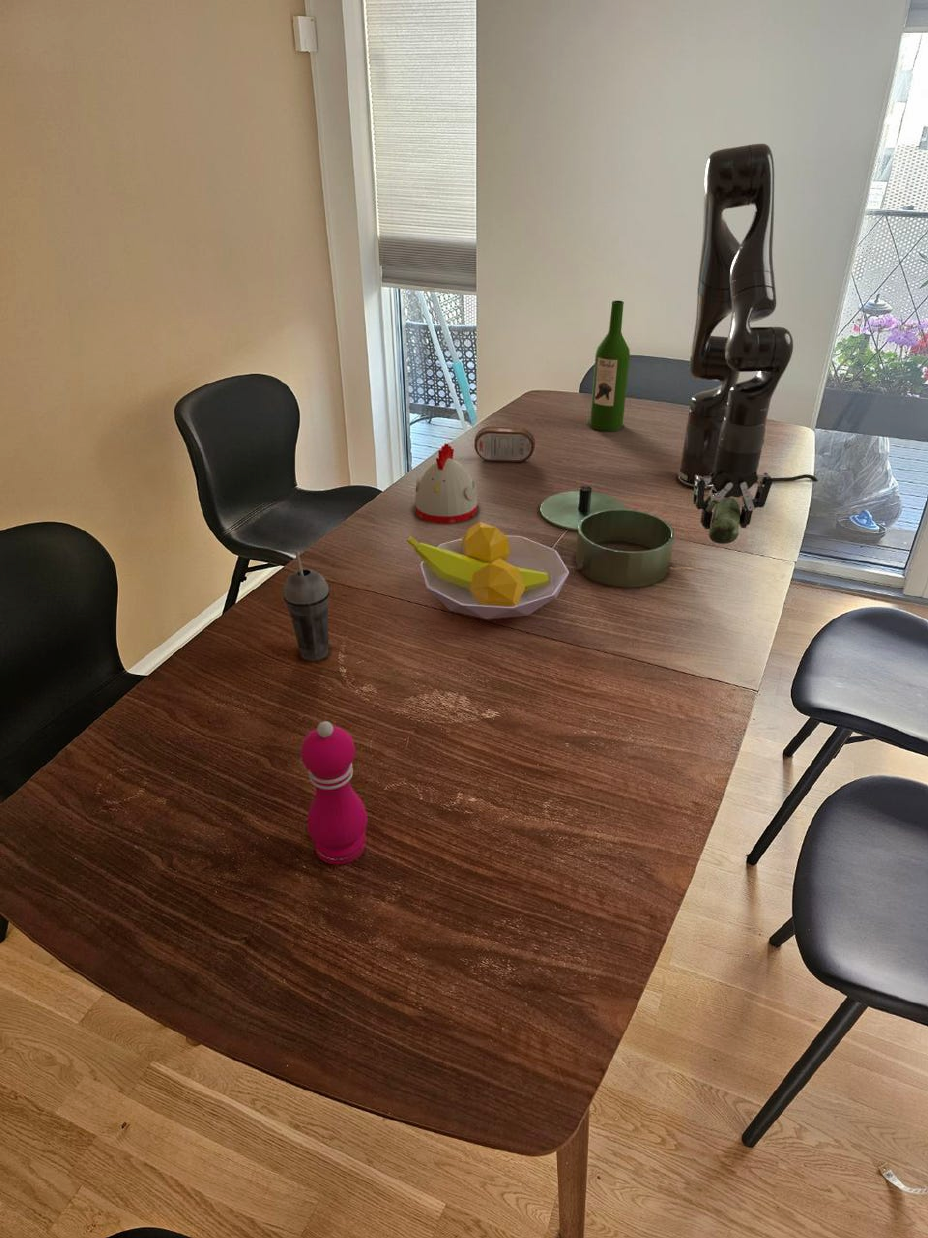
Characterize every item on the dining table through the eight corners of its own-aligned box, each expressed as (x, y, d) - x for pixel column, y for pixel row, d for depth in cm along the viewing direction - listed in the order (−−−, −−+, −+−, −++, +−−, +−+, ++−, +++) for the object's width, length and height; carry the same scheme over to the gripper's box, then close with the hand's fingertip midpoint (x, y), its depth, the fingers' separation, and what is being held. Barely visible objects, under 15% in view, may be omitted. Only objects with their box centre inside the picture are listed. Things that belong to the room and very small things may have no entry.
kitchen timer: (405, 517, 175) (401, 452, 167) (429, 492, 186) (427, 429, 177) (465, 527, 171) (464, 461, 163) (485, 501, 182) (486, 437, 173)
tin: (534, 459, 202) (535, 426, 197) (533, 463, 199) (535, 431, 195) (474, 457, 203) (474, 424, 199) (473, 461, 201) (473, 429, 196)
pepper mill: (313, 825, 103) (294, 704, 91) (370, 821, 103) (358, 700, 92) (309, 871, 97) (288, 747, 85) (369, 866, 97) (356, 743, 86)
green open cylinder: (656, 541, 166) (661, 508, 161) (679, 586, 151) (685, 551, 146) (569, 543, 165) (572, 510, 161) (583, 588, 150) (586, 553, 146)
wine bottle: (585, 428, 219) (596, 303, 201) (594, 418, 226) (604, 296, 208) (618, 433, 216) (631, 306, 198) (625, 422, 223) (639, 299, 205)
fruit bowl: (583, 576, 154) (587, 523, 148) (532, 651, 134) (535, 594, 127) (451, 547, 164) (450, 496, 158) (385, 613, 143) (382, 558, 137)
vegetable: (735, 550, 146) (740, 526, 144) (705, 546, 148) (710, 522, 145) (739, 517, 157) (744, 493, 154) (712, 513, 159) (716, 490, 156)
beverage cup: (344, 644, 136) (332, 539, 124) (324, 669, 130) (310, 561, 119) (305, 636, 138) (290, 532, 126) (284, 660, 132) (266, 554, 121)
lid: (617, 494, 184) (620, 469, 181) (635, 533, 168) (639, 506, 165) (535, 496, 184) (536, 471, 180) (545, 535, 168) (547, 508, 164)
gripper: (772, 434, 146) (754, 516, 155) (694, 436, 145) (681, 518, 155) (788, 450, 140) (768, 535, 149) (706, 452, 139) (691, 537, 149)
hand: (724, 526), depth 152 cm, fingers closed on vegetable, 6 cm apart
